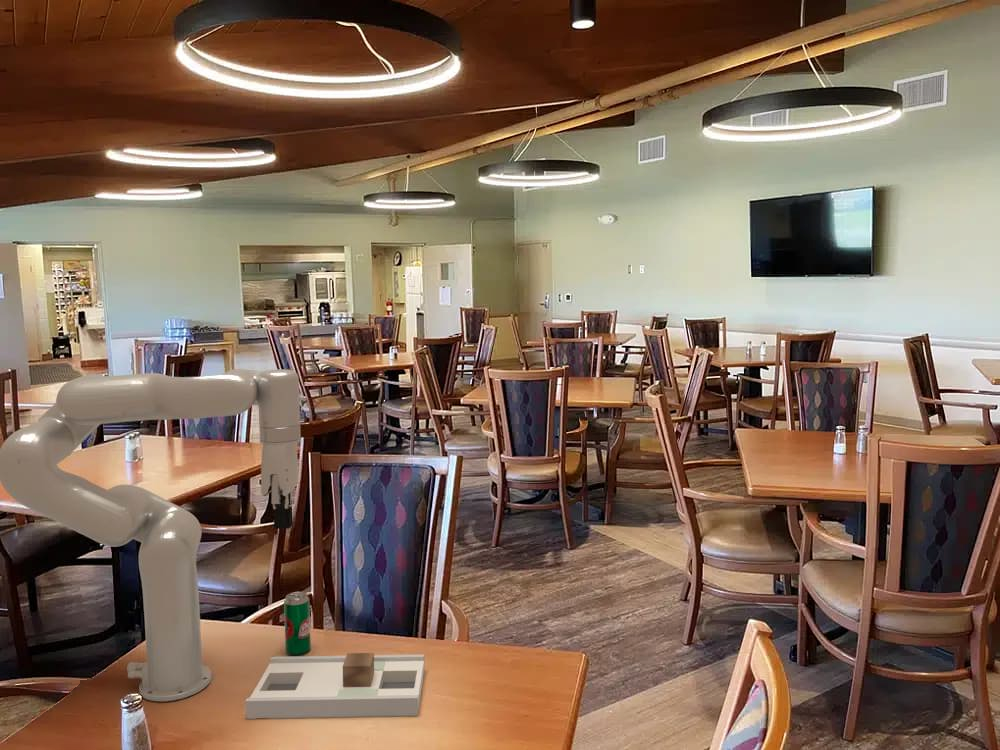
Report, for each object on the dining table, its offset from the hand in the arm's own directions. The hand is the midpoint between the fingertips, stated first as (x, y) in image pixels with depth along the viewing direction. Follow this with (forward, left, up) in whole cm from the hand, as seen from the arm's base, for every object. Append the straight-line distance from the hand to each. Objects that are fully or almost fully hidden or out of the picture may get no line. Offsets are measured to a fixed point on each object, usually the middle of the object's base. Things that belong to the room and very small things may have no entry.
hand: (283, 527), depth 144 cm
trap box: (+12, -9, -29) cm, 33 cm away
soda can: (0, +8, -29) cm, 30 cm away
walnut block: (+15, -9, -27) cm, 32 cm away
